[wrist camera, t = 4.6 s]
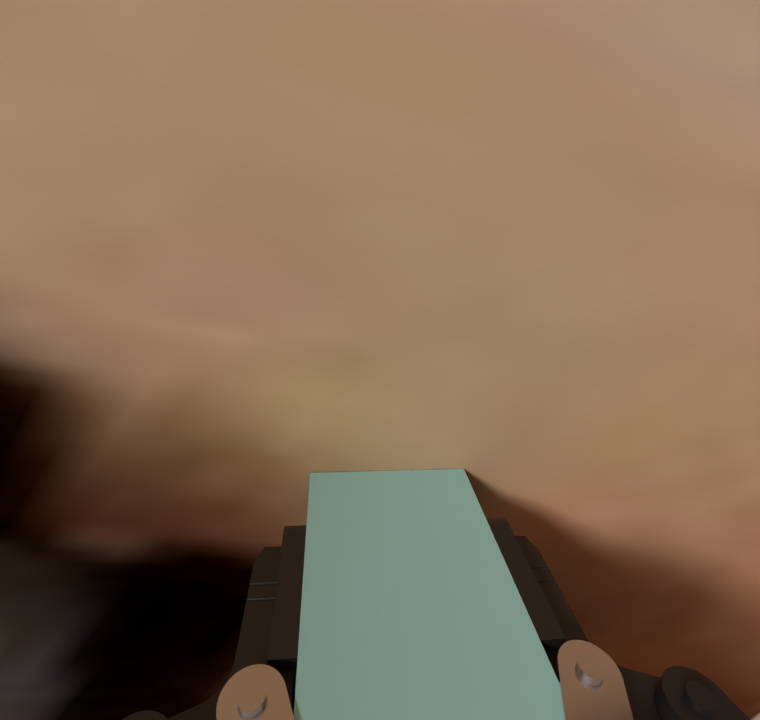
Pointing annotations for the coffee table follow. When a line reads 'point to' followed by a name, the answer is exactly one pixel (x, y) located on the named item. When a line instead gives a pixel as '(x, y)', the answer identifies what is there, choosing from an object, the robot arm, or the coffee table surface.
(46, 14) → the coffee table surface
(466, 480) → the domino
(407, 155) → the coffee table surface
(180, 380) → the coffee table surface
